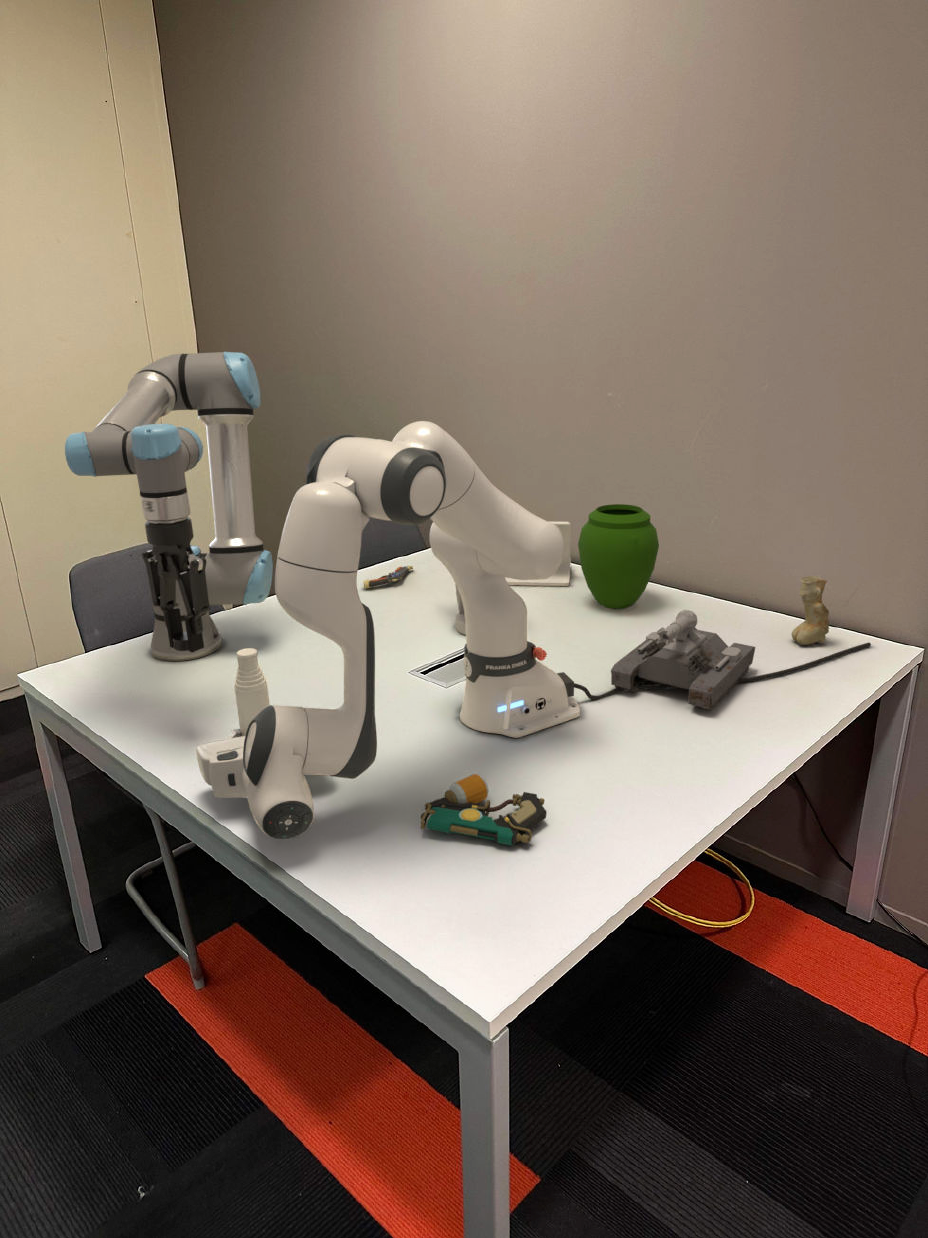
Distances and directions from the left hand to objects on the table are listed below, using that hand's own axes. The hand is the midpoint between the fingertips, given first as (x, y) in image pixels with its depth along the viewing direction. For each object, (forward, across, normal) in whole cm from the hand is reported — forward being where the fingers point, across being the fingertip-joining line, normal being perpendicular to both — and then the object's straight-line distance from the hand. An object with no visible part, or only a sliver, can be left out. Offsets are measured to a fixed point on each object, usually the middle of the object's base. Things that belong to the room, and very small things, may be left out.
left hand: (187, 647), depth 152 cm
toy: (+17, +72, +62) cm, 96 cm away
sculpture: (+16, +90, +93) cm, 131 cm away
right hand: (+10, +18, -3) cm, 21 cm away
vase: (+16, +43, +98) cm, 108 cm away
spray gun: (+17, +61, -1) cm, 63 cm away
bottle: (+17, +19, -4) cm, 26 cm away
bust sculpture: (+16, +17, +69) cm, 73 cm away
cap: (-2, 0, 0) cm, 2 cm away
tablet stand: (+16, +11, +109) cm, 111 cm away
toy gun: (+16, -21, +89) cm, 93 cm away
